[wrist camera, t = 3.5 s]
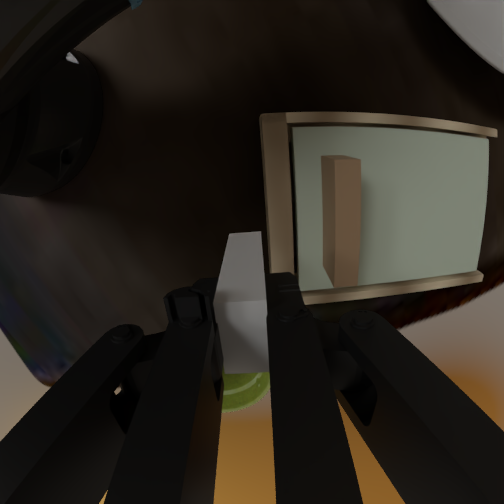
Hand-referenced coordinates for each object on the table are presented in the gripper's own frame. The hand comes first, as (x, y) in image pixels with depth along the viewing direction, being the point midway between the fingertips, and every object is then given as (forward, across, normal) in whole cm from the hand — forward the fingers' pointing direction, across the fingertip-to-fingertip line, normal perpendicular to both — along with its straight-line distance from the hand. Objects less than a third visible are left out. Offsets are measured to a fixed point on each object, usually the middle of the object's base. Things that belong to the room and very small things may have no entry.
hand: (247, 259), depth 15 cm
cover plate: (+8, +12, 0) cm, 14 cm away
